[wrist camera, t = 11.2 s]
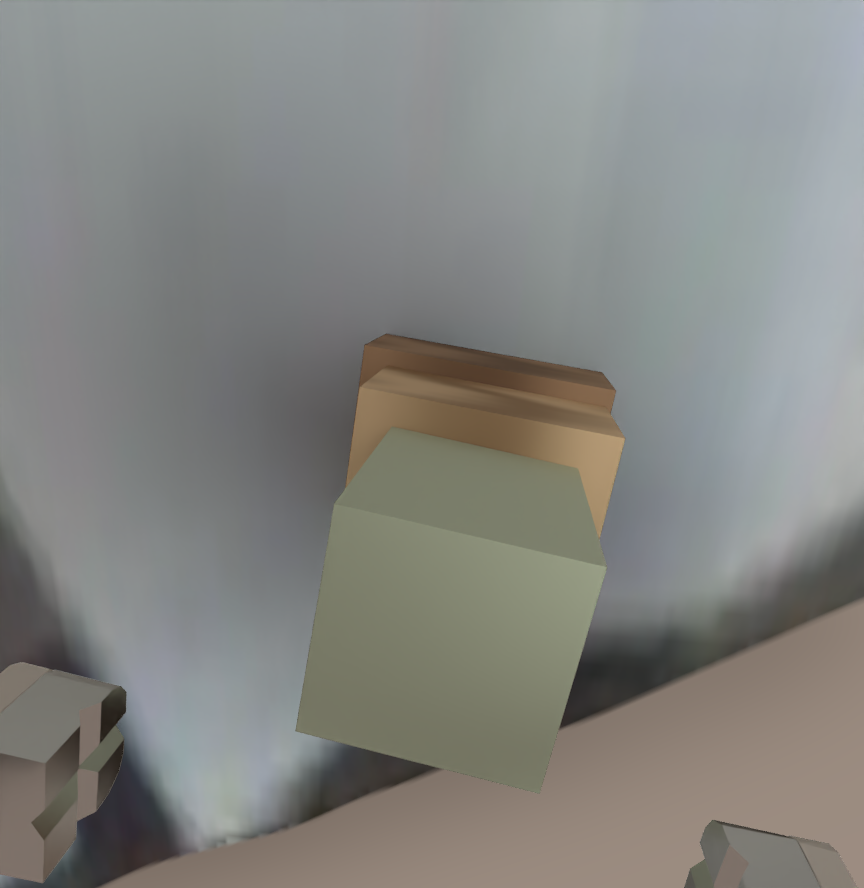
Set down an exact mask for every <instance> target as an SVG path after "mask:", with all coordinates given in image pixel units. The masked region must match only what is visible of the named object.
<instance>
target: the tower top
mask: <svg viewBox="0 0 864 888" xmlns="http://www.w3.org/2000/svg"><path fill="white" fill-rule="evenodd" d="M391 427H397V428H401V429H406V430H410V431H415V432H419V433H423V434H428V435H432V436H437V437H441V438H446V439H450V440H454V441H459V442H463V443H468V444H472V445H477V446H481V447H486V448H490V449H494V450H499V451H503V452H508V453H512V454H517V455H521V456H525V457H530V458H534V459H539V460H543V461H548V462H552V463H556V464H561V465H565V466H570V467H574V468H578V470H579V473H580V477H581V480H582V484H583V487H584V490H585V494H586V497H587V501H588V504H589V507H590V511H591V514H592V518H593V521H594V524H595V528H596V531H597V535H598V538H599V539H600V535H601V531H602V527H603V523H604V519H605V516H606V512H607V508H608V504H609V500H610V496H611V492H612V488H613V485H614V481H615V477H616V473H617V469H618V465H619V461H620V457H621V454H622V450H623V446H624V442H625V437H624V436H623V434H622V432H621V431H620V429H619V427H618V426H617V424H616V423H615V421H614V419H613V418H612V416H611V414H610V413H609V411H608V409H607V408H606V407H603V406H597V405H592V404H587V403H582V402H576V401H571V400H566V399H561V398H556V397H550V396H545V395H540V394H535V393H529V392H524V391H519V390H514V389H509V388H503V387H498V386H493V385H488V384H482V383H477V382H472V381H467V380H462V379H456V378H451V377H446V376H441V375H435V374H430V373H425V372H420V371H414V370H409V369H404V368H399V367H394V366H388V365H387V366H386V367H385V368H383V369H382V370H381V371H380V372H378V373H377V374H376V375H374V376H373V377H372V378H371V379H369V380H368V381H367V382H365V383H364V384H363V385H362V386H360V389H359V396H358V402H357V409H356V416H355V423H354V430H353V437H352V444H351V451H350V458H349V465H348V472H347V479H346V486H345V488H346V487H347V486H348V484H349V483H350V482H351V480H352V479H353V478H354V476H355V475H356V474H357V472H358V471H359V470H360V468H361V467H362V466H363V464H364V463H365V462H366V460H367V459H368V458H369V456H370V455H371V454H372V452H373V451H374V450H375V448H376V447H377V446H378V444H379V443H380V442H381V440H382V439H383V438H384V436H385V435H386V434H387V432H388V431H389V430H390V428H391Z"/></svg>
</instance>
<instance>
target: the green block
mask: <svg viewBox="0 0 864 888" xmlns="http://www.w3.org/2000/svg"><path fill="white" fill-rule="evenodd" d="M606 570H607V565H606V562H605V558H604V555H603V552H602V548H601V545H600V541H599V538H598V535H597V531H596V528H595V524H594V521H593V518H592V514H591V511H590V507H589V504H588V501H587V497H586V494H585V490H584V487H583V484H582V480H581V477H580V473H579V470H578V468H574V467H570V466H565V465H561V464H556V463H552V462H548V461H543V460H539V459H534V458H530V457H525V456H521V455H517V454H512V453H508V452H503V451H499V450H494V449H490V448H486V447H481V446H477V445H472V444H468V443H463V442H459V441H454V440H450V439H446V438H441V437H437V436H432V435H428V434H423V433H419V432H415V431H410V430H406V429H401V428H397V427H391V428H390V430H389V431H388V432H387V434H386V435H385V436H384V438H383V439H382V440H381V442H380V443H379V444H378V446H377V447H376V448H375V450H374V451H373V452H372V454H371V455H370V456H369V458H368V459H367V460H366V462H365V463H364V464H363V466H362V467H361V468H360V470H359V471H358V472H357V474H356V475H355V476H354V478H353V479H352V480H351V482H350V483H349V484H348V486H347V487H346V488H345V490H344V491H343V492H342V494H341V495H340V496H339V498H338V499H337V500H336V502H335V503H334V508H333V513H332V519H331V525H330V531H329V537H328V543H327V549H326V555H325V560H324V566H323V572H322V578H321V584H320V590H319V596H318V601H317V607H316V613H315V619H314V625H313V631H312V637H311V643H310V648H309V654H308V660H307V666H306V672H305V678H304V684H303V689H302V695H301V701H300V707H299V713H298V719H297V725H296V731H297V732H301V733H304V734H308V735H312V736H316V737H320V738H324V739H328V740H332V741H336V742H340V743H344V744H347V745H351V746H355V747H359V748H363V749H367V750H371V751H375V752H379V753H383V754H387V755H390V756H394V757H398V758H402V759H406V760H410V761H414V762H418V763H422V764H426V765H430V766H433V767H437V768H441V769H445V770H449V771H453V772H457V773H461V774H465V775H469V776H472V777H477V778H480V779H484V780H488V781H492V782H496V783H500V784H504V785H508V786H512V787H515V788H519V789H523V790H527V791H531V792H535V793H540V790H541V787H542V784H543V780H544V777H545V774H546V770H547V767H548V764H549V760H550V757H551V754H552V750H553V747H554V744H555V740H556V737H557V734H558V730H559V727H560V723H561V720H562V717H563V713H564V710H565V707H566V703H567V700H568V697H569V693H570V690H571V687H572V683H573V680H574V677H575V673H576V670H577V667H578V663H579V660H580V657H581V653H582V650H583V647H584V643H585V640H586V637H587V633H588V630H589V627H590V623H591V620H592V617H593V613H594V610H595V606H596V603H597V600H598V596H599V593H600V590H601V586H602V583H603V580H604V576H605V573H606Z"/></svg>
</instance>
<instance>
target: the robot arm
mask: <svg viewBox="0 0 864 888" xmlns="http://www.w3.org/2000/svg"><path fill="white" fill-rule="evenodd" d="M125 713H126V691H125V690H124V689H123V688H122V687H121V686H118V685H114V684H110V683H106V682H102V681H98V680H94V679H90V678H86V677H82V676H78V675H74V674H70V673H66V672H62V671H58V670H51V669H47V668H43V667H39V666H35V665H31V664H27V663H23V662H20V663H17V664H13V665H10V666H9V667H7V668H6V669H5V670H4V671H2V672H1V673H0V874H1V875H6V876H11V877H16V878H21V879H25V880H30V881H35V882H40V883H43V882H44V881H45V880H46V878H47V877H48V876H49V874H50V873H51V872H52V870H53V869H54V867H55V866H56V865H57V863H58V862H59V861H60V859H61V858H62V857H63V855H64V854H65V853H66V851H67V850H68V849H69V847H70V846H71V845H72V843H73V842H74V841H75V839H76V825H77V821H78V820H80V819H82V818H84V817H86V816H88V815H90V814H92V813H94V812H96V811H97V809H98V808H99V806H100V805H101V804H102V802H103V801H104V799H105V798H106V797H107V795H108V794H109V792H110V789H111V787H112V785H113V783H114V781H115V779H116V776H117V774H118V772H119V769H120V765H121V761H122V756H123V749H124V738H123V736H122V734H121V733H120V731H119V730H118V728H117V726H116V724H117V722H118V721H119V720H120V719H121V717H122V716H123V715H124V714H125ZM700 845H701V847H702V850H703V854H704V857H705V859H704V860H703V861H701V862H700V863H698V864H697V865H695V866H694V867H692V868H691V869H690V871H689V874H688V877H687V880H686V884H685V887H684V888H858V887H857V885H856V883H855V882H854V880H853V878H852V877H851V874H850V873H849V871H848V869H847V868H846V866H845V864H844V862H843V860H842V858H841V857H840V855H839V853H838V852H837V851H836V850H835V849H834V848H833V847H832V846H831V845H829V844H828V843H824V842H818V841H813V840H808V839H804V838H799V837H793V836H788V837H787V836H784V835H780V834H775V833H771V832H767V831H762V830H757V829H752V828H748V827H744V826H739V825H734V824H729V823H725V822H720V821H716V820H712V821H711V822H710V823H709V824H708V825H707V827H706V828H705V830H704V833H703V836H702V838H701V841H700Z"/></svg>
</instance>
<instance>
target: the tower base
mask: <svg viewBox="0 0 864 888" xmlns="http://www.w3.org/2000/svg"><path fill="white" fill-rule="evenodd" d="M387 365H388V366H394V367H399V368H404V369H409V370H414V371H420V372H425V373H430V374H435V375H441V376H446V377H451V378H456V379H462V380H467V381H472V382H477V383H482V384H488V385H493V386H498V387H503V388H509V389H514V390H519V391H524V392H529V393H535V394H540V395H545V396H550V397H556V398H561V399H566V400H571V401H576V402H582V403H587V404H592V405H597V406H603V407H606V408H607V409H608V411H609V413H610V414H611V409H612V405H613V401H614V397H615V393H616V390H615V389H614V387H613V386H612V385H611V383H610V382H609V381H608V380H607V378H606V377H605V376H604V374H603V373H602V372H597V371H591V370H586V369H580V368H574V367H569V366H563V365H558V364H552V363H546V362H541V361H535V360H530V359H524V358H519V357H513V356H507V355H502V354H496V353H491V352H485V351H479V350H474V349H468V348H463V347H457V346H452V345H446V344H440V343H435V342H429V341H424V340H418V339H412V338H407V337H401V336H396V335H390V334H385V335H383V336H381V337H379V338H377V339H375V340H373V341H371V342H370V343H368V344H366V345H365V346H364V353H363V361H362V368H361V375H360V383H359V389H360V386H362V385H363V384H364V383H365V382H367V381H368V380H369V379H371V378H372V377H373V376H374V375H376V374H377V373H378V372H380V371H381V370H382V369H383V368H385V367H386V366H387ZM358 396H359V390H358ZM357 402H358V398H357ZM356 409H357V405H356ZM355 416H356V412H355ZM354 423H355V420H354ZM353 430H354V427H353ZM352 437H353V434H352ZM351 444H352V442H351ZM350 451H351V449H350ZM349 458H350V457H349ZM348 465H349V464H348ZM347 472H348V471H347Z"/></svg>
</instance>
